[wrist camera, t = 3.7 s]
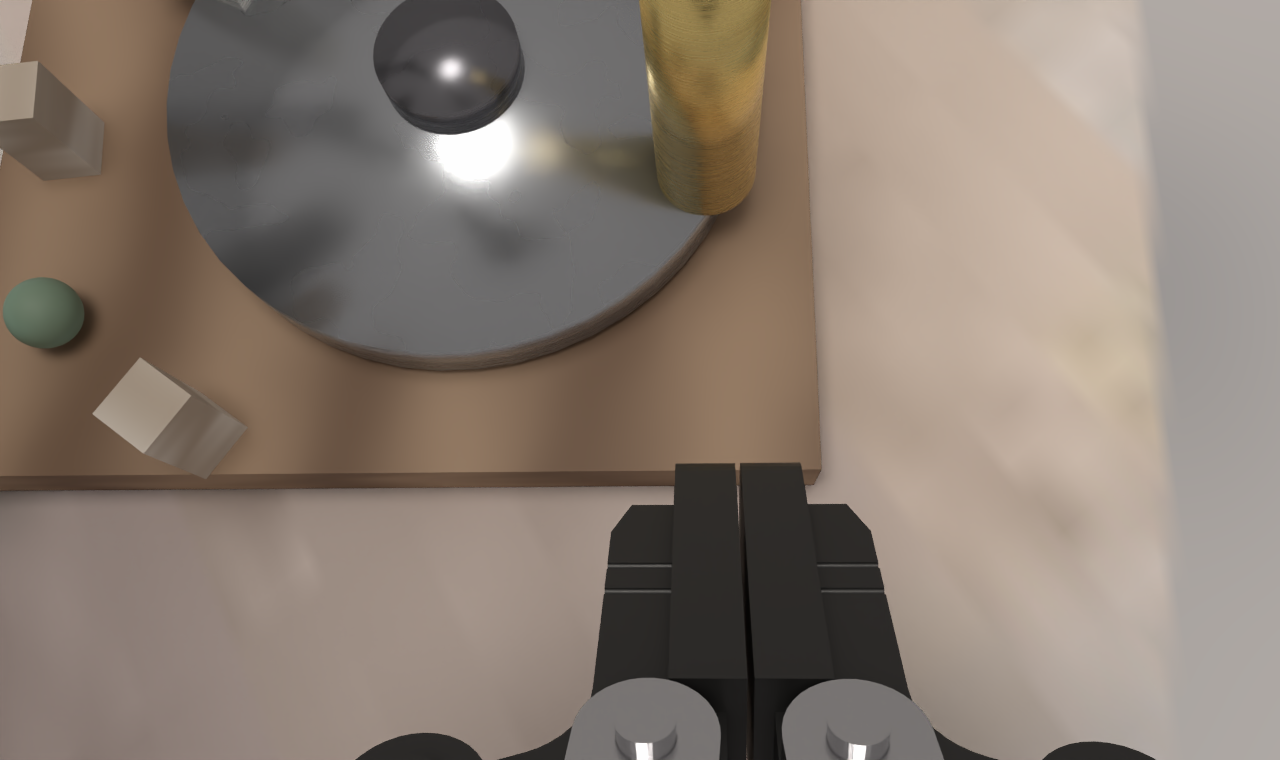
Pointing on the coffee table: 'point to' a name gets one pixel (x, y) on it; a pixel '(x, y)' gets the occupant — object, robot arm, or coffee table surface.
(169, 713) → the coffee table surface
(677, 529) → the robot arm
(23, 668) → the coffee table surface
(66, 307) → the turntable
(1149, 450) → the coffee table surface
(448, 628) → the coffee table surface
